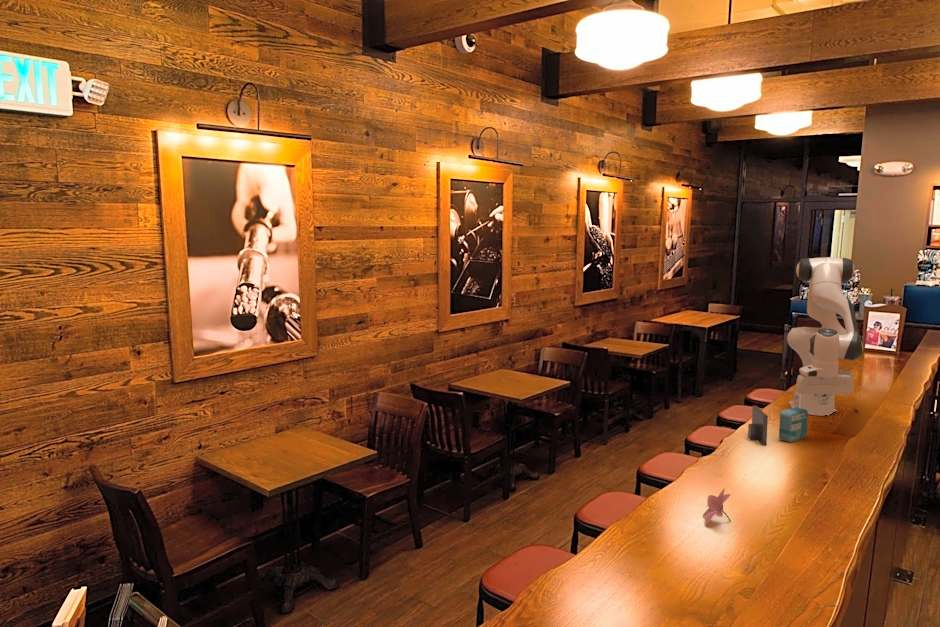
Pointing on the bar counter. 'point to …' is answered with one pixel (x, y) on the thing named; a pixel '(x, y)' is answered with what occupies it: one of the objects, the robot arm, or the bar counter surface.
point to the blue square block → (793, 424)
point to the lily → (715, 506)
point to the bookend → (758, 426)
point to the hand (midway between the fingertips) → (823, 404)
